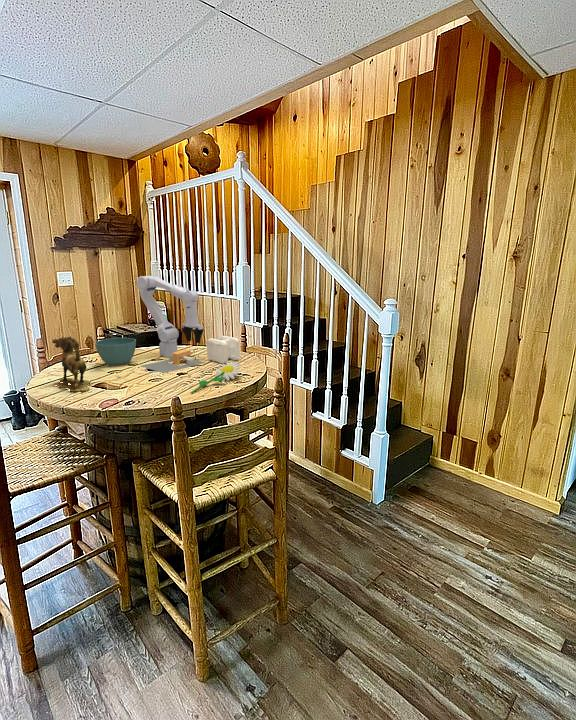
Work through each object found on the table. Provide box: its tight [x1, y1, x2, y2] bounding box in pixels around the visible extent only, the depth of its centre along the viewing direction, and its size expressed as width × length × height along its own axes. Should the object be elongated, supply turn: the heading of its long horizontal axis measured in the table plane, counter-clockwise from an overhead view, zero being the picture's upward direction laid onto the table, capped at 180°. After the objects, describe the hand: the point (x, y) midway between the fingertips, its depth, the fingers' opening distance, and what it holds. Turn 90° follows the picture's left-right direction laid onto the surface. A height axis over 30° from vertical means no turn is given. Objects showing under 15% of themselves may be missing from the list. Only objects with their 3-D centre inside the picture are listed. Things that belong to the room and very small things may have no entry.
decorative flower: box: [189, 361, 242, 394], centre depth 171 cm, size 13×5×30 cm
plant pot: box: [94, 337, 137, 367], centre depth 199 cm, size 18×18×12 cm
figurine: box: [51, 336, 92, 393], centre depth 167 cm, size 13×25×20 cm, turn 42°
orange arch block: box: [172, 348, 192, 365], centre depth 200 cm, size 4×8×6 cm, turn 139°
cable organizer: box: [206, 335, 240, 365], centre depth 207 cm, size 15×11×12 cm
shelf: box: [140, 354, 207, 374], centre depth 196 cm, size 20×24×5 cm
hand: (193, 342), depth 208 cm, fingers open, 7 cm apart
